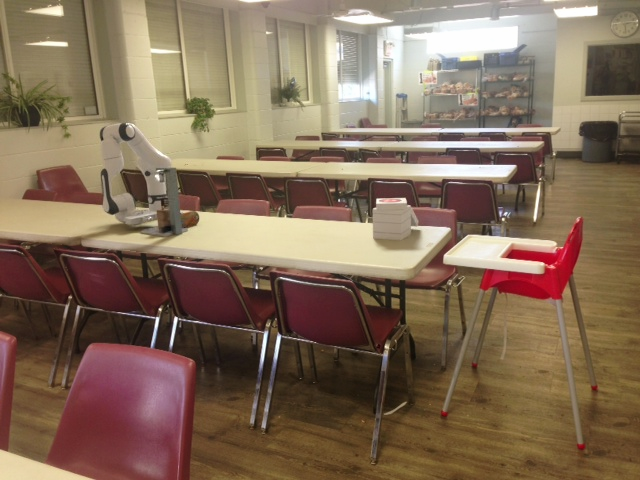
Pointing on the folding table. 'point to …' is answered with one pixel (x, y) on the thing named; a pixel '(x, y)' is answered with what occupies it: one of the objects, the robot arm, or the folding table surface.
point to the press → (173, 203)
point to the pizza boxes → (393, 219)
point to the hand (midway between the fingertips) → (150, 219)
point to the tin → (189, 218)
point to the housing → (163, 217)
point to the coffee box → (165, 202)
